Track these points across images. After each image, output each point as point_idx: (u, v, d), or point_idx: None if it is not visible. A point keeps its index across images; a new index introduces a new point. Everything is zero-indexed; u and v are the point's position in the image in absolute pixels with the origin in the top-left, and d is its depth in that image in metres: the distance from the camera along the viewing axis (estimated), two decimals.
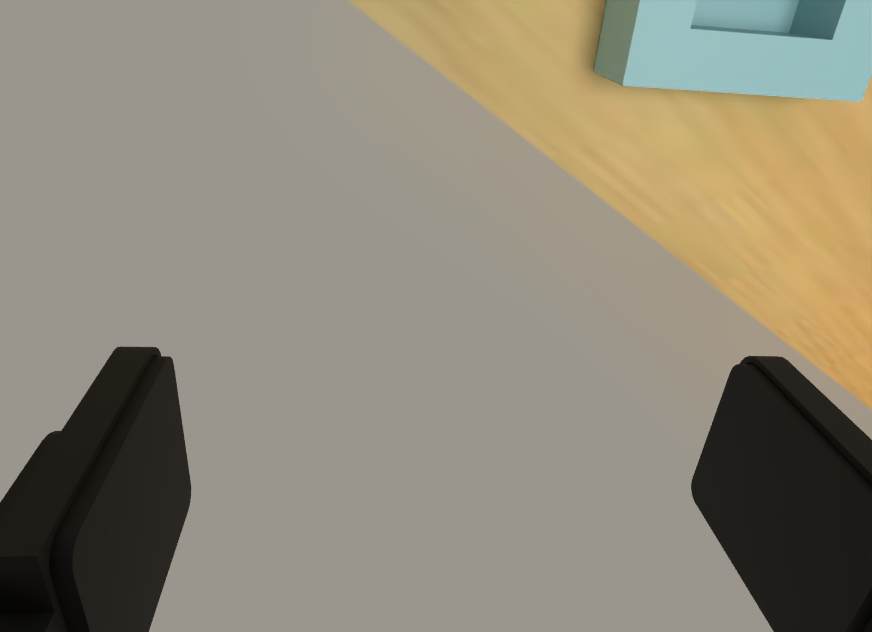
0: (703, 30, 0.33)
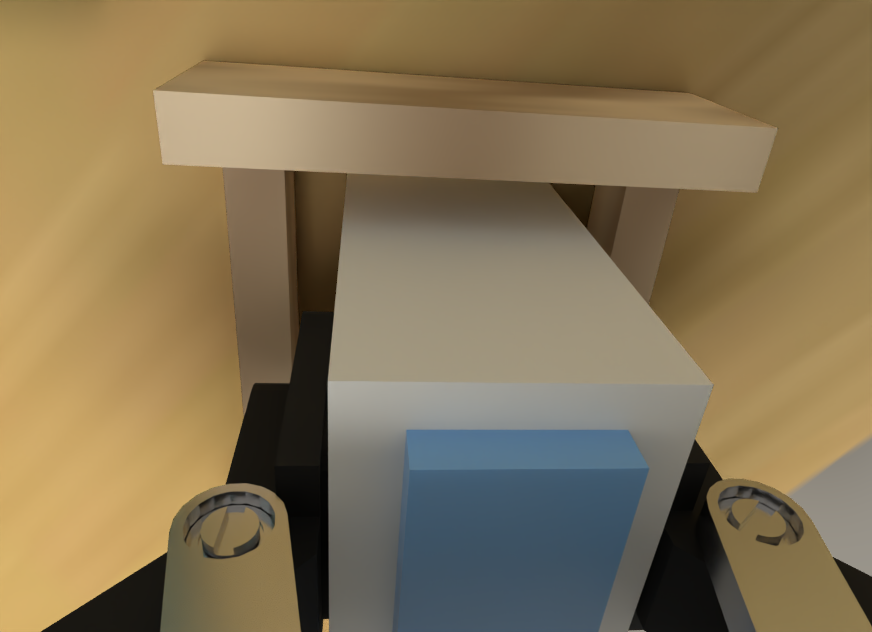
0: None
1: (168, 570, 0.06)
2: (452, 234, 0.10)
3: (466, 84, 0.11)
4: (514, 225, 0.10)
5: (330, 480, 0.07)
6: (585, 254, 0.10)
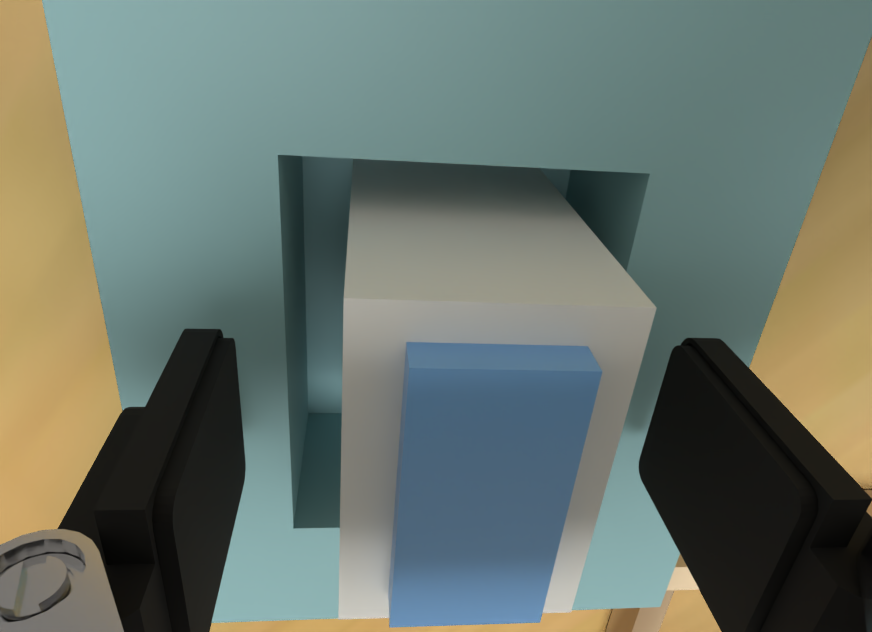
0: (277, 201, 0.10)
1: None
2: (447, 198, 0.11)
3: None
4: (500, 193, 0.12)
5: (343, 385, 0.08)
6: (560, 216, 0.11)
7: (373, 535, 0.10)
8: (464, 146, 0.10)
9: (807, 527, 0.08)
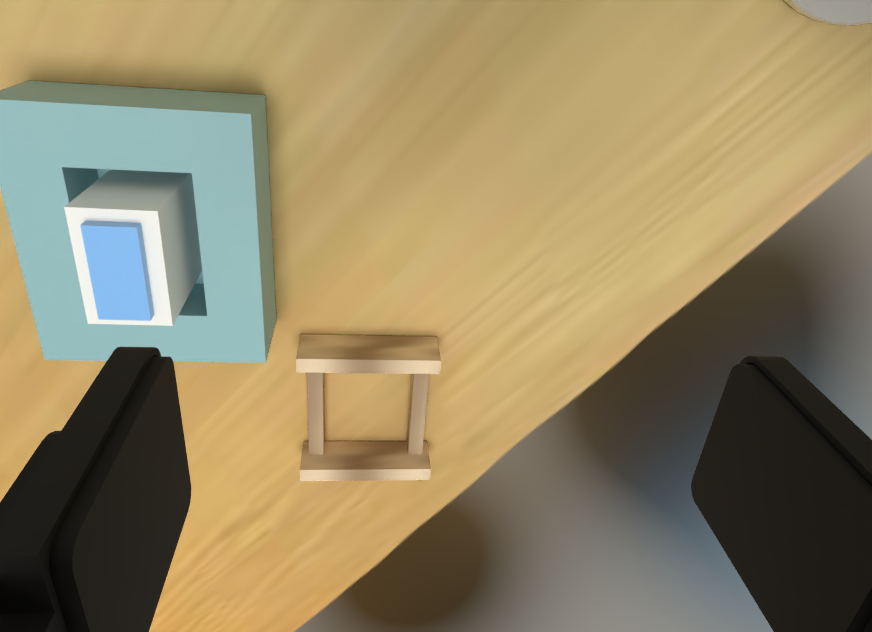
0: (64, 182, 0.31)
1: None
2: (133, 182, 0.32)
3: (370, 341, 0.42)
4: (157, 180, 0.33)
5: (69, 233, 0.29)
6: (169, 188, 0.32)
7: (91, 288, 0.30)
8: (123, 164, 0.31)
9: None
